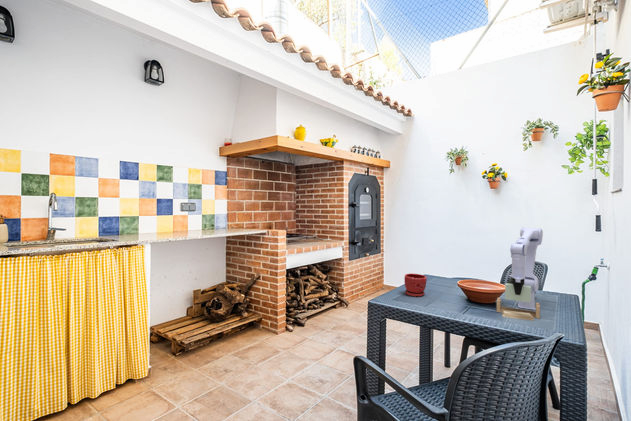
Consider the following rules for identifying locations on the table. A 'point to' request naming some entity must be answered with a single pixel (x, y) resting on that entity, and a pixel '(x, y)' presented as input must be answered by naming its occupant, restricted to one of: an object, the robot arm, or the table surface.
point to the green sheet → (523, 297)
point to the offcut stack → (517, 315)
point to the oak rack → (534, 313)
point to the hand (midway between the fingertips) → (517, 293)
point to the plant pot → (415, 284)
